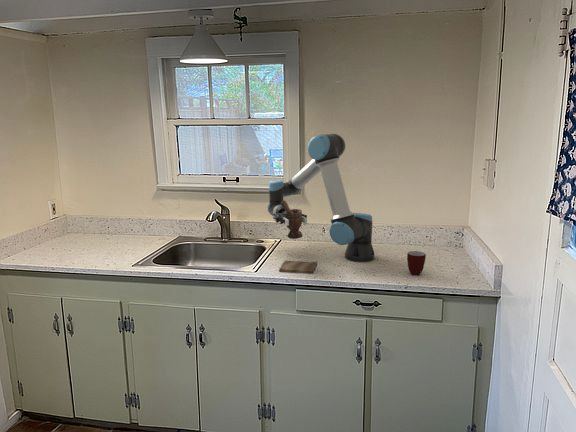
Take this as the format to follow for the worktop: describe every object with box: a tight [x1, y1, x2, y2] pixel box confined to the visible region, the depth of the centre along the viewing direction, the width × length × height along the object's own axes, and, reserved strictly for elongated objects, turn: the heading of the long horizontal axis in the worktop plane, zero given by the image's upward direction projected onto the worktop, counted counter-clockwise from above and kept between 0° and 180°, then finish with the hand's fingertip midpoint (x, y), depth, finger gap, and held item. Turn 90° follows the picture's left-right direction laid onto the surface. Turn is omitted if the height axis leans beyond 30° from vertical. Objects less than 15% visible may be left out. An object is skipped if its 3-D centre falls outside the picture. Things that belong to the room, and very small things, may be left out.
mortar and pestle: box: [281, 199, 303, 240], centre depth 231 cm, size 12×9×20 cm
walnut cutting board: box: [278, 259, 318, 275], centre depth 229 cm, size 16×14×1 cm
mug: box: [406, 250, 427, 276], centre depth 220 cm, size 11×8×10 cm
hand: (297, 222), depth 227 cm, fingers closed on mortar and pestle, 8 cm apart
